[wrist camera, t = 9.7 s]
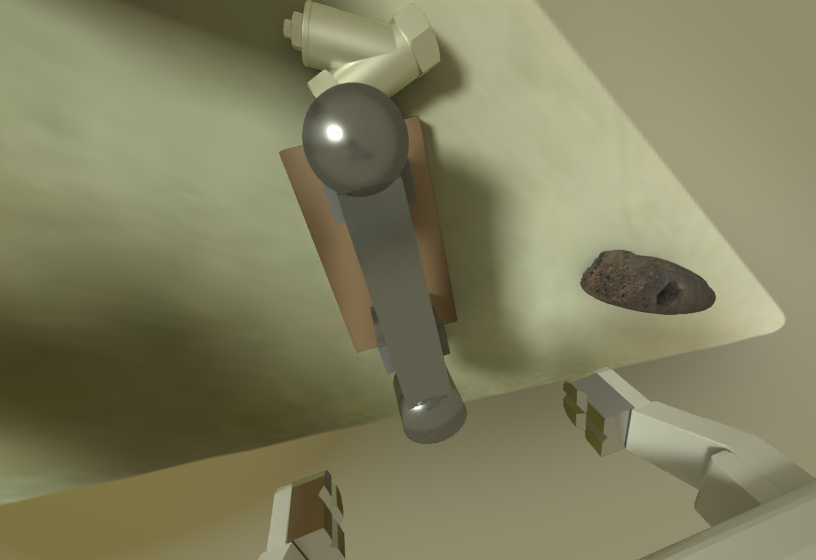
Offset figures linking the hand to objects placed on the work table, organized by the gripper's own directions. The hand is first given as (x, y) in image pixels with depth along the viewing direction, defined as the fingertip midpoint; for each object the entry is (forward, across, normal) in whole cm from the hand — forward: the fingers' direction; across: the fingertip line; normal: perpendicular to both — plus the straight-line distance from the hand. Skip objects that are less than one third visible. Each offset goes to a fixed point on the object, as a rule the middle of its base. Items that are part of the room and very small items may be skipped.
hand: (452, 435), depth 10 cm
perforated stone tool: (+19, -26, +11) cm, 34 cm away
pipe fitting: (+20, -3, -13) cm, 24 cm away
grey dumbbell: (+12, 0, 0) cm, 12 cm away
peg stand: (+19, -1, 0) cm, 19 cm away
